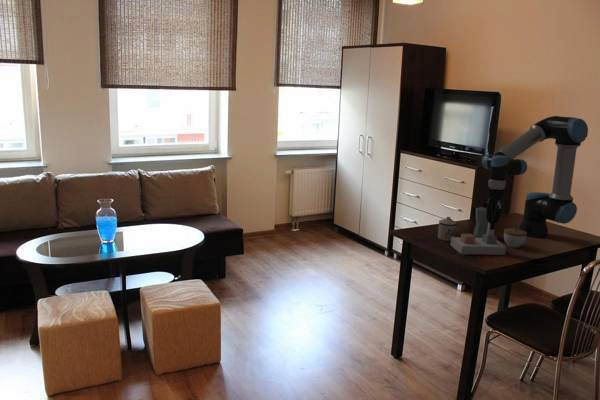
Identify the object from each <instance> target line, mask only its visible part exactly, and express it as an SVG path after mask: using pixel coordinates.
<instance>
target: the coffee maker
mask: <svg viewBox="0 0 600 400" xmlns="http://www.w3.org/2000/svg"><path fill="white" fill-rule="evenodd" d="M486 211H487V203H486V202H483V203H482V206H474V207H473V208H472V214H473V217H474V221H476V222H475V225H474V228H473V229H474V230H473V232H472V233H473V234H472V235H473V236H475V238H483V234H487V229H488V219H486Z"/></svg>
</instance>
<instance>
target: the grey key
mask: <svg viewBox="0 0 600 400" xmlns="http://www.w3.org/2000/svg"><path fill="white" fill-rule="evenodd" d="M482 241H483V242H484V243H486V244H496V243H497V241H498V236H496V235H493V236H488V235H487V234H483V238H482Z"/></svg>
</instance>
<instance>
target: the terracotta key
mask: <svg viewBox="0 0 600 400" xmlns="http://www.w3.org/2000/svg"><path fill="white" fill-rule="evenodd" d="M460 237H461V241H462V242H463V243H464V244H475V238H476V236H473V234H472V233H461V234H460Z"/></svg>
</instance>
